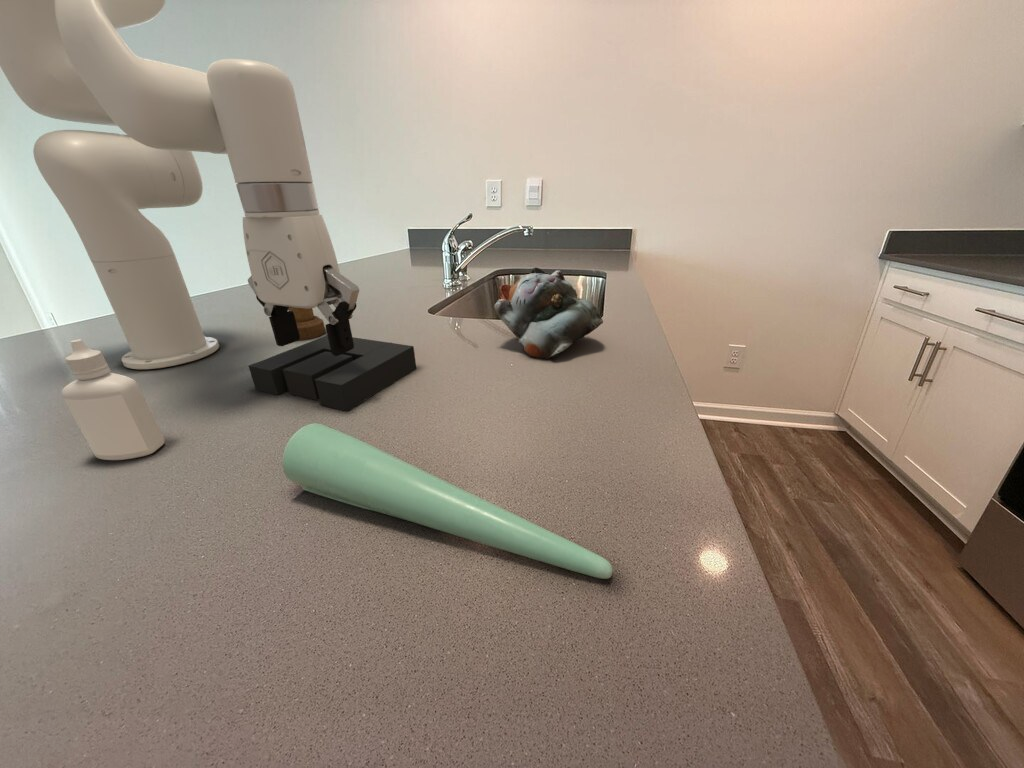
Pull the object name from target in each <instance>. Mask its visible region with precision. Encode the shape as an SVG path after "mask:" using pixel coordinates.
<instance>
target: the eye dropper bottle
mask: <svg viewBox="0 0 1024 768" xmlns="http://www.w3.org/2000/svg"><path fill="white" fill-rule="evenodd" d="M70 344H71V349H72V352H71V354H69V355H68V356H66V357H65V359H64V360H65V362H66V364H67V366H68V367H69V370H70V371H71V373H72V376H73V377H74V379H75V380H73V381H71V382H70V383H68V384H66V385H65V386H64V387H63V388H62V390H61V397H62V399H63V400H64V403H65V404H66V406H67V408H68V410H69V412H70V414H71V415H72V418H73V419H74V421H75V423H76V425H77V427H78V429H79V430H80V432H81V435H83V437H84V439H85V441H86V443H87V445H88V446H89V448H90V450H91V452H92V454H93V455H94V456H95V457H96V458H97V459H99V460H103V461H124V460H132V459H136V458H141V457H146V456H149V455H151V454H153V453H155V452H156V451H157V450H159V449H160V448H161V447H162V446H163V445H164V444H165V438H164V435H163V433H162V431H161V430H160V427H159V425H158V423H157V421H156V418H155V417H154V414H153V411H152V410H151V407H150V405H149V403H148V401H147V399H146V396H145V395H144V393H143V391H142V388H141V386H140V385H139V383H138V382H137V381H136V380H135V379H134V378H132V377H129V376H128V375H123V374H119V373H114V372H111V369H110V366H109V364H108V362H107V360H106V358H105V356H104V354H103V352H102V351H101V350H97V349H91V348H89V346H88V345H86V344H85V342H84V341H83V340H82V339H74V340H71V341H70Z"/></svg>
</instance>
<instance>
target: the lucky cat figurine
mask: <svg viewBox="0 0 1024 768" xmlns="http://www.w3.org/2000/svg"><path fill="white" fill-rule="evenodd" d="M499 290H500V291H499V295H498V296H499V297H498V298H497V301H496V303H495V304H494V306H493V307H494V310H495V314H497V316H498V317H499V319H500V320H501V322H502V323H503V324H504V325H505V326H506V327H507V328H508V329H509V331H510V332H511V333H512V334H514V336H515V337H516V338H517V339H518V341H519V342H520V343H521V345H522V346H523V350H524V351H525V353H526V354H528V355H529V356H530V357H534V358H538V359H539V358H540V359H545V360H549V359H551V357H554V356H556V355H558V354H560V353H562V352H564V351H565V350H567V349H568V348H570V347H571V346H572V345H573V344H575V343H576V342H578V341H580V340H581V339H582V338H584V337H586V336H588V335H589V334H591V333H592V332H594V331H595V330H596V329H598V328H599V327H600V326H601V325H603V324H604V320H603V318H602V315H601V314H600V311H599V309H598V308H597V306H596V305H595V304H594V303H593V302H592V301H590V300H588V299H585V298H580V297H578V293H577V290H576V289H575V288H574V286H573V285H572V284H571V283H570V282H569V281H567V280H566V279H565V274H564V273H563V271H562V270H560V269H559V270H555V271H554V272H552V273H551V274H549V273H546V272H545V271H544V270H542V269H541V268H539V267H533V268H532V269H531V271H530V272H529V273H528V274H525V275H523V276H522V277H521V278H519V279H518V280H517V281H516V282H515V283H514V285H513V284H507V283H505V284H501V285H500V286H499Z"/></svg>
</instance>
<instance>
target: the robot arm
mask: <svg viewBox="0 0 1024 768" xmlns="http://www.w3.org/2000/svg"><path fill="white" fill-rule="evenodd" d="M166 3H167V0H0V68H1V70H2V72H3V74H4V76H5V78H6V80H7V81H8V83H9V84H10V86H11V88H12V89H13V91H14V92H15V94H16V95H17V96H18V97H19V99H20V100H21V101H22V102H23V103H24V104H25V105H26V106H27V107H28V108H29V109H30V110H31V111H33V112H35V113H37V114H39V115H41V116H44V117H47V118H51V119H55V120H60V121H66V122H74V123H83V124H92V125H99V126H100V125H101V126H107V127H108V126H110V127H117V128H119V129H120V130H121V131H123V133H125V134H122V133H116V132H104V131H95V130H83V129H60V130H58V129H57V130H53V131H49V132H46V133H43V134H42V135H41V136H39V137H38V138H37V139H36V140H35V142H34V145H33V151H32V152H33V158H34V161H35V164H36V167H37V168H38V171H39V172H40V174H41V176H42V178H43V179H44V181H45V183H46V184H47V186H48V187H49V188H50V190H51V191H52V193H53V194H54V196H55V198H57V200H58V202H59V204H60V205H61V206H62V208H63V209H64V211H65V213H66V214H67V216H68V218H69V220H70V221H71V224H72V225H73V227H74V229H75V230H76V232H77V234H78V236H79V239H80V240H81V243H82V244H83V247H84V249H85V251H86V253H87V256H88V258H89V260H90V262H91V264H92V266H93V268H94V270H95V273H96V275H97V277H98V279H99V282H100V284H101V286H102V289H103V291H104V293H105V295H106V297H107V299H108V301H109V304H110V306H111V308H112V310H113V312H114V315H115V317H116V319H117V321H118V324H119V326H120V328H121V331H122V332H123V334H124V337H125V339H126V342H127V344H128V347H129V348H130V351H128V352H126V353H124V355H123V356H122V357H121V362H122V365H123V366H124V367H125V368H127V369H130V370H131V369H132V370H153V369H154V370H156V369H163V368H169V367H174V366H175V367H176V366H180V365H183V364H187V363H192V362H195V361H197V360H200V359H203V358H205V357H208V356H210V355H213V353H215V352H216V351H218V350H219V348H220V343H219V341H218V339H216V338H214V337H210V336H205V334H204V331H203V328H202V325H201V322H200V320H199V318H198V315H197V312H196V309H195V306H194V303H193V300H192V298H191V295H190V292H189V290H188V287H187V284H186V282H185V279H184V276H183V273H182V271H181V270H182V269H181V268H180V265H179V262H178V260H177V256H176V254H175V252H174V249H173V246H172V244H171V241H170V240H169V238H168V237H167V235H166V234H165V233H164V232H163V231H162V230H161V228H159V226H157V225H156V224H155V223H154V222H152V221H151V220H150V219H149V218H148V217H147V216H145V215H144V213H142V212H141V211H140V210H146V209H169V208H184V207H190V206H193V205H195V204H197V203H198V202H199V201H200V200H201V198H202V195H203V191H204V190H203V188H204V187H203V180H202V175H201V172H200V168H199V166H198V163H197V161H196V158H195V156H194V153H193V152H195V153H211V154H215V155H227V159H228V161H229V165H230V168H231V171H232V174H233V179H234V182H235V186H236V189H237V193H238V197H239V201H240V204H241V208H242V211H243V214H244V216H242V232H243V238H244V239H243V242H244V247H245V252H246V258H247V263H248V266H249V271H250V274H251V275H250V276H249V277H248V278H247V282H248V285H249V287H250V288H251V290H252V291H253V293H254V294H255V298H256V300H257V302H258V303H259V304H260V305H261V306H262V307H263V313H264V314H265V315H266V317H268V319H269V323H270V326H271V329H272V334H273V336H274V341H275V343H276V346H278V347H286V346H287V345H290V344H292V343H295V342H298V341H300V340H299V339H300V335H299V332H298V328H297V324H296V320H295V316H294V313H293V311H289V307H295V308H305V309H311V308H312V309H315V308H316V307H317V309H318V310H319V311H320V313H321V314H322V315H323V316H324V318H325V319H326V321H328V323H326V324H325V332H326V335H328V340H329V344H330V349H331V353H332V355H335V356H339V355H341V354H343V353H345V352H347V351H350V350H352V349H353V348H354V343H353V338H352V337H353V333H352V328H351V323H350V320H351V319H352V318H353V313H354V312H355V310H356V308H357V301H358V297H359V294H360V288H359V286H358V285H357V284H356V283H354V282H353V281H351V279H349V278H347V277H345V276H344V275H343V274H341V272H340V267H339V262H338V260H337V255H336V252H335V248H334V246H333V242H332V239H331V235H330V232H329V230H328V227H327V225H326V222H325V220H324V217H323V215H322V214H320V209H319V204H318V200H317V195H316V190H315V185H314V182H313V181H314V180H313V175H312V171H311V166H310V161H309V156H308V152H307V145H306V142H305V137H304V131H303V127H302V122H301V118H300V112H299V108H298V102H297V98H296V94H295V89H294V85H293V83H292V81H291V79H290V77H289V76H288V75H287V73H286V72H285V71H283V70H282V69H281V68H279V67H277V66H275V65H273V64H269V63H267V62H264V61H259V60H253V59H245V58H224V59H223V58H222V59H219V60H215V61H212V63H210V64H209V66H208V68H207V70H206V72H204V71H201V70H198V69H194V68H189V67H184V66H182V65H181V66H180V65H176V64H172V63H167V62H162V61H159V60H154V59H149V58H144V57H140V56H139V55H137V54H135V53H134V52H133V51H132V49H131V48H130V47H129V45H127V43H126V42H125V41H124V39H123V37H122V36H121V35H120V33H119V32H118V31H121V30H123V29H130V28H133V27H138V26H141V25H144V24H147V23H150V21H153V20H154V19H155V18H157V17H158V16H159V15H160V14H161V12H162V11H163V10H164V8H165V5H166ZM331 306H333V307H334V308H335V309H332V307H331Z"/></svg>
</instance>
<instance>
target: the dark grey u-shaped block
mask: <svg viewBox="0 0 1024 768" xmlns="http://www.w3.org/2000/svg"><path fill="white" fill-rule="evenodd" d="M352 338H353V343H354V348H353V349H352V350H350V351H347V352H345V353H343V355H349V356H352V358H353V361H352V362H350V363H348V364H346V365H344V366H341V367H339V368H337V369H335V370H333V371H331V372H329V373H327V374H325V375H323V376H321V377H319V378H317V379H315V383H316V387H317V391H318V395H319V401H320V402H319V403H320V405H321V406H324V407H328V408H332V409H337V410H341V411H344V412H348V411H349V410H351V409H353V408H355V407H356V406H358V405H359V404H362V402H364V401H366V400H367V399H369V398H371V397H372V396H374V395H376V394H377V393H379V392H380V391H383V390H384V389H385V388H387V387H389V386H391V385H392V384H393V383H395V382H396V381H398V380H400V379H401V378H403V377H405V376H406V375H408V374H409V373H411V372H413V371H415V370H416V369H417V362H416V354H415V348H414V345H408V344H401V343H394V342H388V341H381V340H375V339H367V338H360V337H355V336H354V337H353V336H352ZM323 352H331V349H330V344H329V340H328V335H327V334H326V335H324V336H320V337H319V338H316V339H314V340H311V341H309V342H306V343H303V344H301V345H299V346H296V347H293V348H290V349H288V350H285V351H283V352H281V353H278V354H275V355H273V356H270V357H267V358H265V359H262V360H260V361H257V362H255V363H252V364H249V365H248V366H247V367H248V369H249V373H250V377H251V379H252V382H253V385H254V389H255V391H259V392H264V393H267V394H273V395H276V396H279V395H281V394H283V393H286V392H287V391H289V390H288V387H287V383H286V380H285V376H284V373H283V369H285V368H288V367H290V366H292V365H295V364H297V363H299V362H302V361H304V360H306V359H309V358H311V357H313V356H316V355H318V354H320V353H323Z"/></svg>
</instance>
